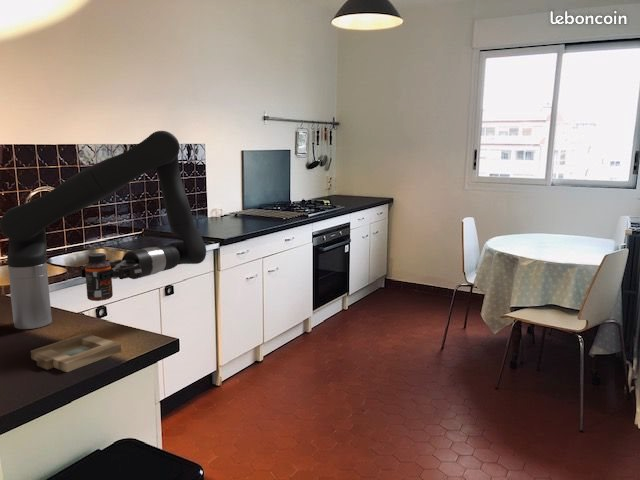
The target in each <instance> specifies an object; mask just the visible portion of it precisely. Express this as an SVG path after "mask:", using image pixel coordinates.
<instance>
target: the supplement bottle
mask: <svg viewBox="0 0 640 480" xmlns="http://www.w3.org/2000/svg"><path fill="white" fill-rule="evenodd" d="M107 260H108V259H107V254H106V253H104V252H95V253H90V254H88V262H87V263H86V264H85V267H84V268H85V274H86V277H85V284H86V296H87V298H86V299H88V300H89V301H92V302H93V301H95V302H101V301H106V300H110V299H111V298H112V297H113V278H111V279H107V280H103V281H98V280H97V272H100V271H104V270H109V269H111V265H110V263H109V262H108V261H107Z"/></svg>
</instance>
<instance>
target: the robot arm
mask: <svg viewBox="0 0 640 480" xmlns="http://www.w3.org/2000/svg"><path fill="white" fill-rule="evenodd" d="M178 140H179V139H178V138H177V137H176V136H175V135H174V134H173V133H171V132H169V131H168V130H167V131H166V130H157V131H154V132H153V133H151V134H149V136H147V137H146V138H145V139H143V140H142V141H140V142H139V143H137V144H136V145H134V146H133V147H131V148H129V149H128V150H126V151H124V152H123V153H120V154H118V155H115V156H112V157H109V158H107V159H104V160H102V161H98V162H97V163H95V164H93V165H90V166H88V167H86V168H85V169H82V170H81V171H79V172H77V173H75V174H74V175H72V176H71V177H69V178H68V179H66V180H64V181H63V182H61V183H60V184H58V185H57V186H55V187H54V188H52V189H51V190H50V191H48V192H47V193H46V194H43V195H41V196H40V197H38V198H35V199H33V200H30V201H28V202H26V203H23V204H19V205H15V206H14V207H11V208H9V209H7V211H5V212H4V213H3V215H2V216H1V217H0V218H1V219H0V232H1V233H2V235H3V236H4V237H5V238H7V239H8V252H7V256H6V259H7V269H8V279H9V286H10V287H9V288H10V303H11V310H12V321H13V325H14V326H13V327H14V328H15V329H17V330H31V329H38V328H42V327H45V326H48V325H50V324H51V323H52V322H53V318H52V309H51V308H52V307H51V298H50V297H51V296H50V286H49V276H48V266H47V251H48V249H47V248H48V246H47V245H48V244H47V231H46V228H48V227H49V226H51V225H52V224H54V223H56V222H57V221H58V220H60V219H62V218H65V217H67V216H69V215H72V214H74V213H76V212H77V213H78V211H82V210H84V209H86V208H88V207H90V206H93V205H95V204H96V203H98V202H101V201H102V200H104V199H106V198H107V197H110V196H111V195H113V194H114V193H116V192H117V191H119V190H121V189H123V188H124V187H125V186H127V185H128V184H130V183H131V182H133V180H135V179H136V178H138V177H140V176H141V175H143V174H144V175H145V173H148V172H150V171H152V170H155V171H156V175H157V177H158V181H159V184H160V188H161V194H162V199H163V203H164V208H165V209H164V210H165V213H166V216H167V217H166V218H167V222H168V225H169V229H170V232H171V233H172V234H173V235H175V236H178V237H180V238H181V240H178V241H174V242H171V243H168V244H166V245H165V244H164V245H160V246H153V247H144V248H141V249H140V248H139V249H135V250H131V251H130V250H129V251H127V252H126V253H124V255H123V256H122V258H119V259H117V258H116V259H114V260H110V259H106V260H107V261H108V262H109V263H110V265H111V269H109V270H104V271H100V272H97V280H98V281H103V280H107V279H111V278H112V280H115V279H119V280H124V279H131V280H137V279H141V278H144V277H150V276H152V275H156V274H158V273H160V272H164V271H168V270H172V269H174V268H176V267H177V266H178V265H190V264H191V265H198V264H201V263H202V262H204V261H205V260H206V255H207V246H206V243H205V242H204V239H203V237H202V235H201V233H200V232H199V230H198V228H197V226H196V225H195V222H194V216H193V212H192V209H191V205H190V201H189V199H188V196H187V193H186V191H185V187H184V183H183V180H182V176H181V172H180V163H179V155H180V142H179V141H178ZM79 273H80V277H81V278H82V279H83V278H84V279H86V274H85V267H84V268H80V270H79Z"/></svg>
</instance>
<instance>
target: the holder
mask: <svg viewBox="0 0 640 480" xmlns="http://www.w3.org/2000/svg"><path fill="white" fill-rule="evenodd" d="M121 344H122V343H119V342H116V341H114V340H109V339H107V338H103V337H99V336H95V335H93V334H90V333H86V332H84V333H82V334H78V335H76V336H75V335H74V336H72V337H69V338H66V339H63V340H60V341H57V342H54V343H51V344H48V345H44V346H42V347H38V348H35V349H32V350H30V357H31V358H30V359H31V360H33V361H36V366H37V367H39V368H42V369H45V370H47V371H48V370H51V369H53V368H55V369H57V370H59V371H62V372H64V373H65V372H66V373H69V372H71V371H74V370H77V369H80V368H82V367H84V366H87V365H90V364H93V363H95V362H98V361H101V360H103V359H106V358H108V357H110V356H113V355H116V354H118V353H121V352H122V345H121Z"/></svg>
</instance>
